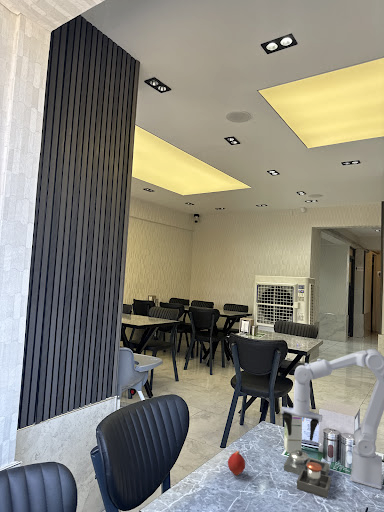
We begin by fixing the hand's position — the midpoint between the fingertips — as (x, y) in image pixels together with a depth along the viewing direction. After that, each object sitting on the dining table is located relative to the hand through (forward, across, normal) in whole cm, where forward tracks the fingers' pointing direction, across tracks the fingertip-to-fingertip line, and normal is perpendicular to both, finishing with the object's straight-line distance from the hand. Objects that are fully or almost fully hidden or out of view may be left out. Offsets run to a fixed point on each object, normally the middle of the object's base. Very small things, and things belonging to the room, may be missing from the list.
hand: (300, 437), depth 131 cm
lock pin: (+9, -7, +12) cm, 16 cm away
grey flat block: (+10, -3, +2) cm, 11 cm away
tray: (+10, -7, +12) cm, 17 cm away
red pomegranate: (+10, +17, +20) cm, 28 cm away
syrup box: (+10, +5, -11) cm, 16 cm away
